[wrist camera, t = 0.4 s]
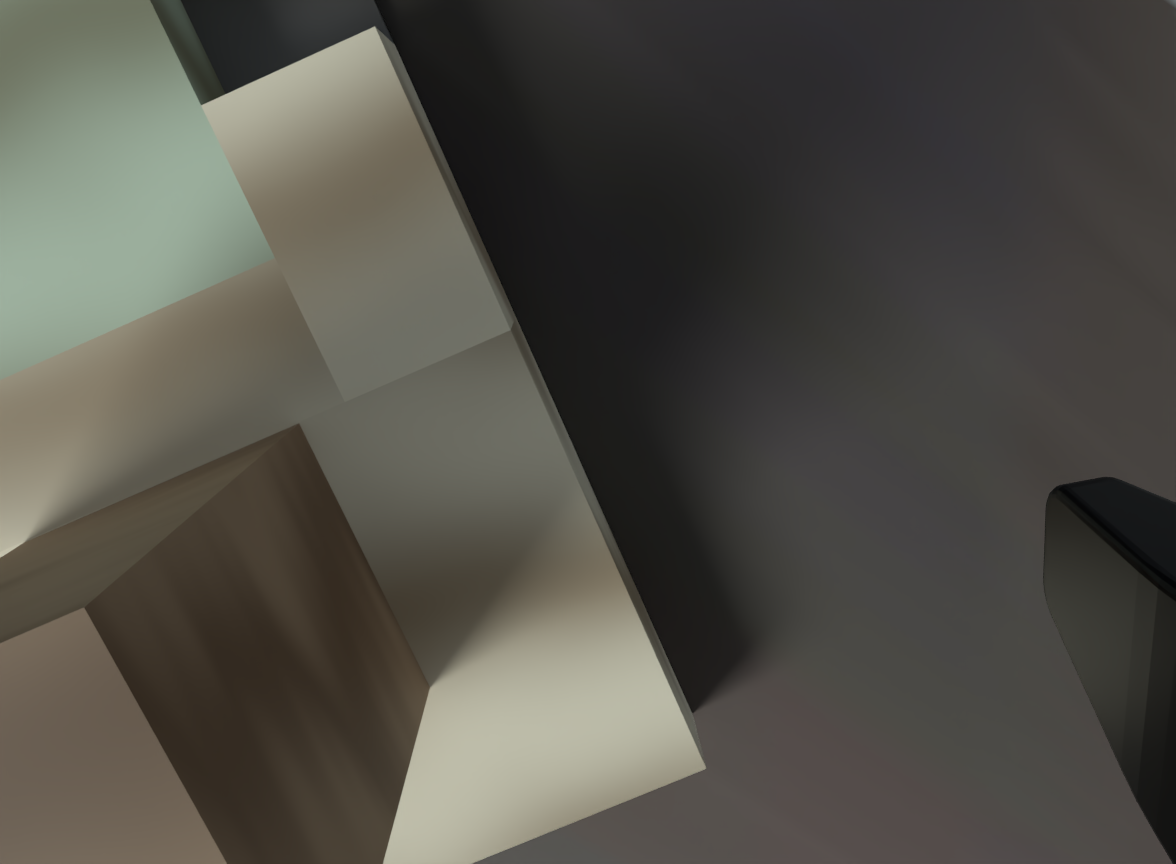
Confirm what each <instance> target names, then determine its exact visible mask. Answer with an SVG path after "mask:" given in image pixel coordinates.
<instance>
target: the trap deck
mask: <svg viewBox="0 0 1176 864" xmlns="http://www.w3.org/2000/svg"><path fill="white" fill-rule="evenodd" d="M298 423H299V424H300V426H301V428H302V430H303V432H304V434H305V436H306V438H307V440H308V442H309V444H310V446H311V448H312V450H313V452H314V454H315V456H316V458H317V460H318V462H319V465H320V467H321V469H322V471H323V473H324V475H325V477H326V479H327V481H328V483H329V485H330V487H331V489H332V491H333V493H334V495H335V497H336V499H337V501H338V503H339V505H340V507H341V509H342V511H343V513H344V515H345V517H346V519H347V521H348V523H349V525H350V527H351V529H352V531H353V533H354V535H355V537H356V539H357V541H358V543H359V545H360V547H361V549H362V551H363V553H364V555H365V557H366V559H367V561H368V563H369V565H370V567H371V569H372V571H373V573H374V575H375V577H376V579H377V581H378V583H379V585H380V588H381V590H382V592H383V594H384V596H385V598H386V600H387V602H388V604H389V606H390V608H391V610H392V612H393V614H394V616H395V618H396V620H397V622H398V624H399V626H400V628H401V630H402V632H403V634H404V636H405V638H406V640H407V642H408V644H409V646H410V648H411V650H412V652H413V654H414V656H415V658H416V660H417V662H418V664H419V666H420V668H421V670H422V672H423V674H424V676H425V678H426V680H427V682H428V684H429V686H430V690H429V693H428V697H427V701H426V705H425V708H424V712H423V716H422V719H421V723H420V727H419V731H418V734H417V738H416V742H415V746H414V749H413V753H412V757H411V761H410V764H409V768H408V772H407V775H406V779H405V783H404V787H403V790H402V794H401V798H400V802H399V805H398V809H397V813H396V817H395V820H394V824H393V828H392V831H391V835H390V839H389V843H388V846H387V850H386V854H385V858H384V861H383V864H472V863H474V862H477V861H479V860H482V859H484V858H487V857H489V856H492V855H494V854H496V853H499V852H501V851H504V850H506V849H509V848H511V847H514V846H516V845H519V844H521V843H524V842H526V841H529V840H531V839H534V838H536V837H539V836H541V835H543V834H546V833H548V832H551V831H553V830H556V829H558V828H561V827H563V826H566V825H568V824H571V823H573V822H576V821H578V820H581V819H583V818H586V817H588V816H590V815H593V814H595V813H598V812H600V811H603V810H605V809H608V808H610V807H613V806H615V805H618V804H620V803H623V802H625V801H628V800H630V799H632V798H635V797H637V796H640V795H642V794H645V793H647V792H650V791H652V790H655V789H657V788H660V787H662V786H665V785H667V784H670V783H672V782H675V781H677V780H679V779H682V778H684V777H687V776H689V775H692V774H694V773H697V772H699V771H702V770H704V769H706V765H705V761H704V757H703V753H702V749H701V745H700V741H699V738H698V734H697V730H696V726H695V722H694V718H693V714H692V712H691V710H690V708H689V705H688V703H687V701H686V699H685V696H684V694H683V692H682V690H681V687H680V685H679V683H678V681H677V678H676V676H675V674H674V672H673V669H672V667H671V665H670V663H669V660H668V658H667V656H666V654H665V651H664V649H663V647H662V645H661V642H660V640H659V638H658V636H657V633H656V631H655V629H654V627H653V624H652V622H651V620H650V618H649V615H648V613H647V611H646V609H645V606H644V604H643V602H642V600H641V597H640V595H639V593H638V591H637V588H636V586H635V584H634V582H633V579H632V577H631V575H630V573H629V570H628V568H627V566H626V564H625V561H624V559H623V557H622V555H621V552H620V550H619V548H618V546H617V543H616V541H615V539H614V537H613V534H612V532H611V530H610V528H609V525H608V523H607V521H606V519H605V516H604V514H603V512H602V510H601V507H600V505H599V503H598V501H597V498H596V496H595V494H594V492H593V489H592V487H591V485H590V483H589V480H588V478H587V476H586V474H585V471H584V469H583V467H582V465H581V462H580V460H579V458H578V456H577V453H576V451H575V449H574V447H573V444H572V442H571V440H570V438H569V435H568V433H567V431H566V429H565V426H564V424H563V422H562V420H561V417H560V415H559V413H558V411H557V408H556V406H555V404H554V402H553V399H552V397H551V395H550V393H549V390H548V388H547V386H546V384H545V381H544V379H543V377H542V375H541V372H540V370H539V368H538V366H537V363H536V361H535V359H534V357H533V354H532V352H531V350H530V348H529V345H528V343H527V341H526V339H525V336H524V334H523V332H522V330H521V327H520V325H519V323H518V321H517V318H516V316H515V314H514V312H513V309H512V307H511V305H510V303H509V300H508V298H507V296H506V294H505V291H504V289H503V287H502V285H501V282H500V280H499V278H498V276H497V273H496V271H495V269H494V267H493V264H492V262H491V260H490V258H489V255H488V253H487V251H486V249H485V246H484V244H483V242H482V240H481V237H480V235H479V233H478V231H477V228H476V226H475V224H474V222H473V219H472V217H471V215H470V213H469V210H468V208H467V206H466V204H465V201H464V199H463V197H462V195H461V192H460V190H459V188H458V186H457V183H456V181H455V179H454V177H453V174H452V172H451V170H450V168H449V165H448V163H447V161H446V159H445V156H444V154H443V152H442V150H441V147H440V145H439V143H438V141H437V138H436V136H435V134H434V132H433V129H432V127H431V125H430V123H429V120H428V118H427V116H426V114H425V111H424V109H423V107H422V105H421V102H420V100H419V98H418V96H417V93H416V91H415V89H414V87H413V84H412V82H411V80H410V78H409V75H408V73H407V71H406V69H405V66H404V64H403V62H402V60H401V57H400V55H399V53H398V51H397V48H396V46H395V44H394V42H393V39H392V37H391V35H390V33H389V30H388V28H387V26H386V24H385V22H384V19H383V17H382V15H381V13H380V10H379V8H378V6H377V4H376V1H375V0H0V558H1V557H2V556H4V555H5V554H7V553H9V552H10V551H12V550H13V549H15V548H16V547H18V546H19V545H21V544H23V543H24V542H27V541H29V540H31V539H34V538H36V537H38V536H40V535H43V534H45V533H47V532H50V531H52V530H54V529H57V528H59V527H61V526H64V525H66V524H68V523H70V522H73V521H75V520H77V519H80V518H82V517H84V516H87V515H89V514H91V513H93V512H96V511H98V510H100V509H103V508H105V507H107V506H110V505H112V504H114V503H116V502H119V501H121V500H123V499H126V498H128V497H130V496H133V495H135V494H137V493H140V492H142V491H144V490H146V489H149V488H151V487H153V486H156V485H158V484H160V483H163V482H165V481H167V480H169V479H172V478H174V477H176V476H179V475H181V474H183V473H186V472H188V471H190V470H193V469H195V468H197V467H199V466H202V465H204V464H206V463H209V462H211V461H213V460H216V459H218V458H220V457H222V456H225V455H227V454H229V453H232V452H234V451H236V450H239V449H241V448H243V447H245V446H248V445H250V444H252V443H255V442H257V441H259V440H262V439H264V438H266V437H269V436H271V435H273V434H275V433H278V432H280V431H282V430H285V429H287V428H289V427H292V426H294V425H296V424H298Z"/></svg>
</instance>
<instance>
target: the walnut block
mask: <svg viewBox="0 0 1176 864" xmlns="http://www.w3.org/2000/svg"><path fill="white" fill-rule="evenodd" d="M429 690H430V686H429V684H428V682H427V680H426V678H425V676H424V674H423V672H422V670H421V668H420V666H419V664H418V662H417V660H416V658H415V656H414V654H413V652H412V650H411V648H410V646H409V644H408V642H407V640H406V638H405V636H404V634H403V632H402V630H401V628H400V626H399V624H398V622H397V620H396V618H395V616H394V614H393V612H392V610H391V608H390V606H389V604H388V602H387V600H386V598H385V596H384V594H383V592H382V590H381V588H380V585H379V583H378V581H377V579H376V577H375V575H374V573H373V571H372V569H371V567H370V565H369V563H368V561H367V559H366V557H365V555H364V553H363V551H362V549H361V547H360V545H359V543H358V541H357V539H356V537H355V535H354V533H353V531H352V529H351V527H350V525H349V523H348V521H347V519H346V517H345V515H344V513H343V511H342V509H341V507H340V505H339V503H338V501H337V499H336V497H335V495H334V493H333V491H332V489H331V487H330V485H329V483H328V481H327V479H326V477H325V475H324V473H323V471H322V469H321V467H320V465H319V462H318V460H317V458H316V456H315V454H314V452H313V450H312V448H311V446H310V444H309V442H308V440H307V438H306V436H305V434H304V432H303V430H302V428H301V426H300V424H299V423H298V424H296V425H294V426H292V427H289V428H287V429H285V430H282V431H280V432H278V433H275V434H273V435H271V436H269V437H266V438H264V439H262V440H259V441H257V442H255V443H252V444H250V445H248V446H245V447H243V448H241V449H239V450H236V451H234V452H232V453H229V454H227V455H225V456H222V457H220V458H218V459H216V460H213V461H211V462H209V463H206V464H204V465H202V466H199V467H197V468H195V469H193V470H190V471H188V472H186V473H183V474H181V475H179V476H176V477H174V478H172V479H169V480H167V481H165V482H163V483H160V484H158V485H156V486H153V487H151V488H149V489H146V490H144V491H142V492H140V493H137V494H135V495H133V496H130V497H128V498H126V499H123V500H121V501H119V502H116V503H114V504H112V505H110V506H107V507H105V508H103V509H100V510H98V511H96V512H93V513H91V514H89V515H87V516H84V517H82V518H80V519H77V520H75V521H73V522H70V523H68V524H66V525H64V526H61V527H59V528H57V529H54V530H52V531H50V532H47V533H45V534H43V535H40V536H38V537H36V538H34V539H31V540H29V541H27V542H24V543H23V544H21V545H19V546H18V547H16V548H15V549H13V550H12V551H10V552H9V553H7V554H5V555H4V556H2V557H1V558H0V864H383V861H384V858H385V854H386V850H387V846H388V843H389V839H390V835H391V831H392V828H393V824H394V820H395V817H396V813H397V809H398V805H399V802H400V798H401V794H402V790H403V787H404V783H405V779H406V775H407V772H408V768H409V764H410V761H411V757H412V753H413V749H414V746H415V742H416V738H417V734H418V731H419V727H420V723H421V719H422V716H423V712H424V708H425V705H426V701H427V697H428V693H429Z"/></svg>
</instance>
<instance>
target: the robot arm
mask: <svg viewBox="0 0 1176 864" xmlns="http://www.w3.org/2000/svg"><path fill="white" fill-rule="evenodd" d="M1043 583H1044V591H1045V596H1046V601H1047V604H1048V607H1049V610H1050V613H1051V615H1052V618H1053V620H1054V622H1055V624H1056V627H1057V629H1058V631H1059V633H1060V635H1061V638H1062V640H1063V642H1064V644H1065V646H1066V649H1067V651H1068V653H1069V655H1070V657H1071V660H1072V662H1073V664H1074V666H1075V668H1076V671H1077V673H1078V675H1079V677H1080V679H1081V682H1082V684H1083V686H1084V688H1085V690H1086V693H1087V695H1088V697H1089V699H1090V702H1091V704H1092V706H1093V708H1094V710H1095V713H1096V715H1097V717H1098V719H1099V721H1100V724H1101V726H1102V728H1103V730H1104V732H1105V735H1106V737H1107V739H1108V741H1109V743H1110V746H1111V748H1112V750H1113V752H1114V754H1115V757H1116V759H1117V761H1118V763H1119V765H1120V768H1121V770H1122V772H1123V774H1124V776H1125V778H1126V780H1127V782H1128V784H1129V786H1130V788H1131V791H1132V793H1133V795H1134V797H1135V799H1136V801H1137V803H1138V804H1139V806H1140V808H1141V810H1142V811H1143V813H1144V815H1145V817H1146V819H1147V820H1148V822H1149V824H1150V826H1151V827H1152V829H1153V831H1154V833H1155V835H1156V836H1157V838H1158V840H1159V841H1160V843H1161V845H1162V846H1163V848H1164V850H1165V851H1166V853H1167V855H1168V856H1169V858H1170V860H1171V861H1172V863H1173V864H1176V503H1175V502H1173V501H1170V500H1168V499H1166V498H1163V497H1161V496H1158V495H1156V494H1153V493H1151V492H1149V491H1146V490H1144V489H1141V488H1139V487H1137V486H1134V485H1132V484H1129V483H1127V482H1124V481H1122V480H1119V479H1116V478H1113V477H1101V478H1096V479H1090V480H1085V481H1079V482H1074V483H1069V484H1063V485H1059V486H1057V487H1056V488H1054V489H1053V490H1052V491H1051V492H1050V494H1049V496H1048V499H1047V503H1046V515H1045V544H1044V573H1043Z"/></svg>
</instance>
